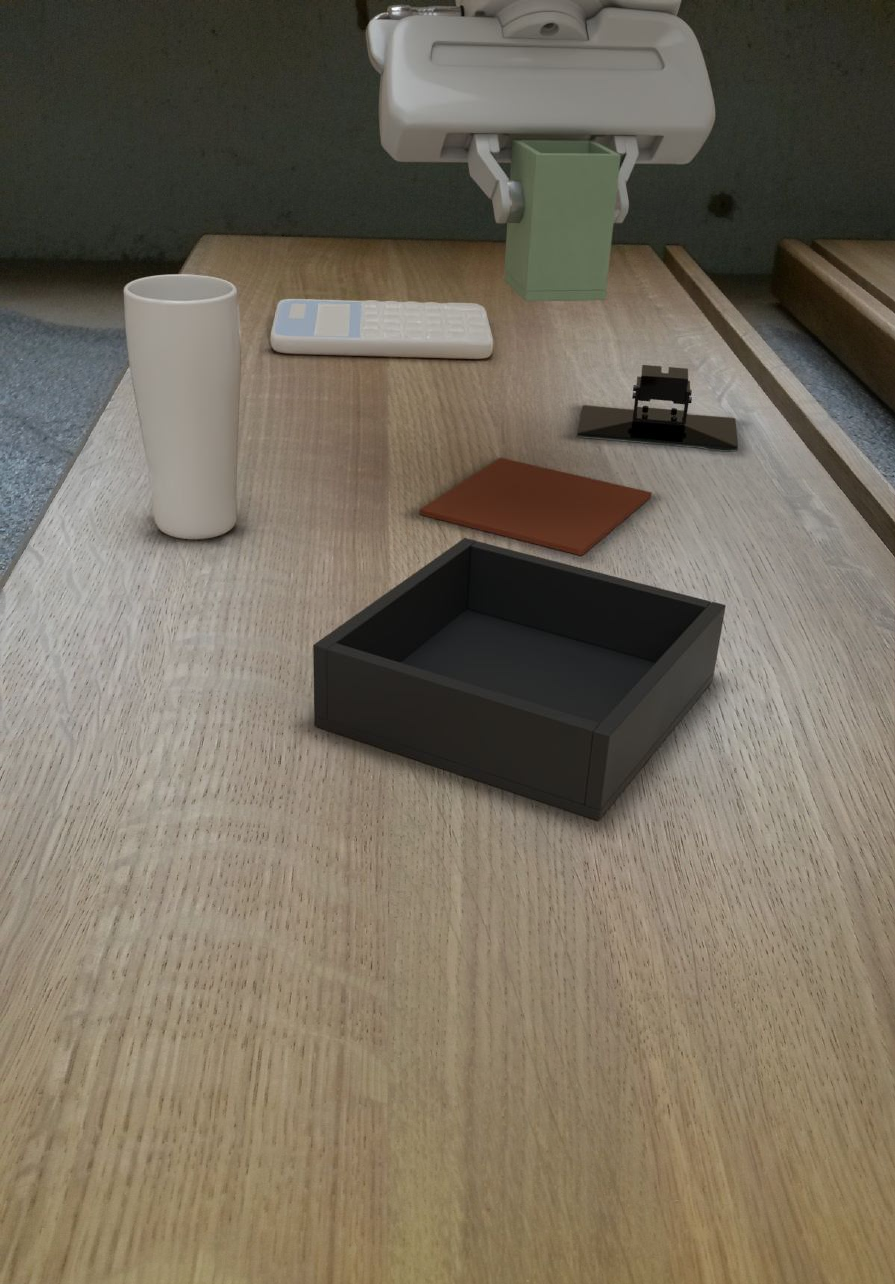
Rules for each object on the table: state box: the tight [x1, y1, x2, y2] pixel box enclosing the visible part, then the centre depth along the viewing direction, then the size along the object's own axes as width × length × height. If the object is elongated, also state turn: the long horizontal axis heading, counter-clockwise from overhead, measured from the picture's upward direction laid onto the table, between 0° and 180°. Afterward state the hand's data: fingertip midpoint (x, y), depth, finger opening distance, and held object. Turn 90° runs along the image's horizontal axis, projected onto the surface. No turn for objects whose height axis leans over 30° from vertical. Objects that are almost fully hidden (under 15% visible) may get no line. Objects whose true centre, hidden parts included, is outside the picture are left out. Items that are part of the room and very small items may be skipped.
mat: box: [419, 457, 652, 557], centre depth 93 cm, size 12×12×1 cm
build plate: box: [576, 364, 739, 452], centre depth 107 cm, size 12×7×5 cm, turn 82°
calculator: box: [269, 298, 494, 360], centre depth 126 cm, size 13×20×2 cm, turn 92°
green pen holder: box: [503, 139, 621, 302], centre depth 81 cm, size 5×5×8 cm
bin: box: [312, 537, 727, 821], centre depth 70 cm, size 16×16×5 cm
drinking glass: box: [122, 273, 242, 540], centre depth 84 cm, size 7×7×15 cm
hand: (563, 218), depth 80 cm, fingers closed on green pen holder, 5 cm apart
